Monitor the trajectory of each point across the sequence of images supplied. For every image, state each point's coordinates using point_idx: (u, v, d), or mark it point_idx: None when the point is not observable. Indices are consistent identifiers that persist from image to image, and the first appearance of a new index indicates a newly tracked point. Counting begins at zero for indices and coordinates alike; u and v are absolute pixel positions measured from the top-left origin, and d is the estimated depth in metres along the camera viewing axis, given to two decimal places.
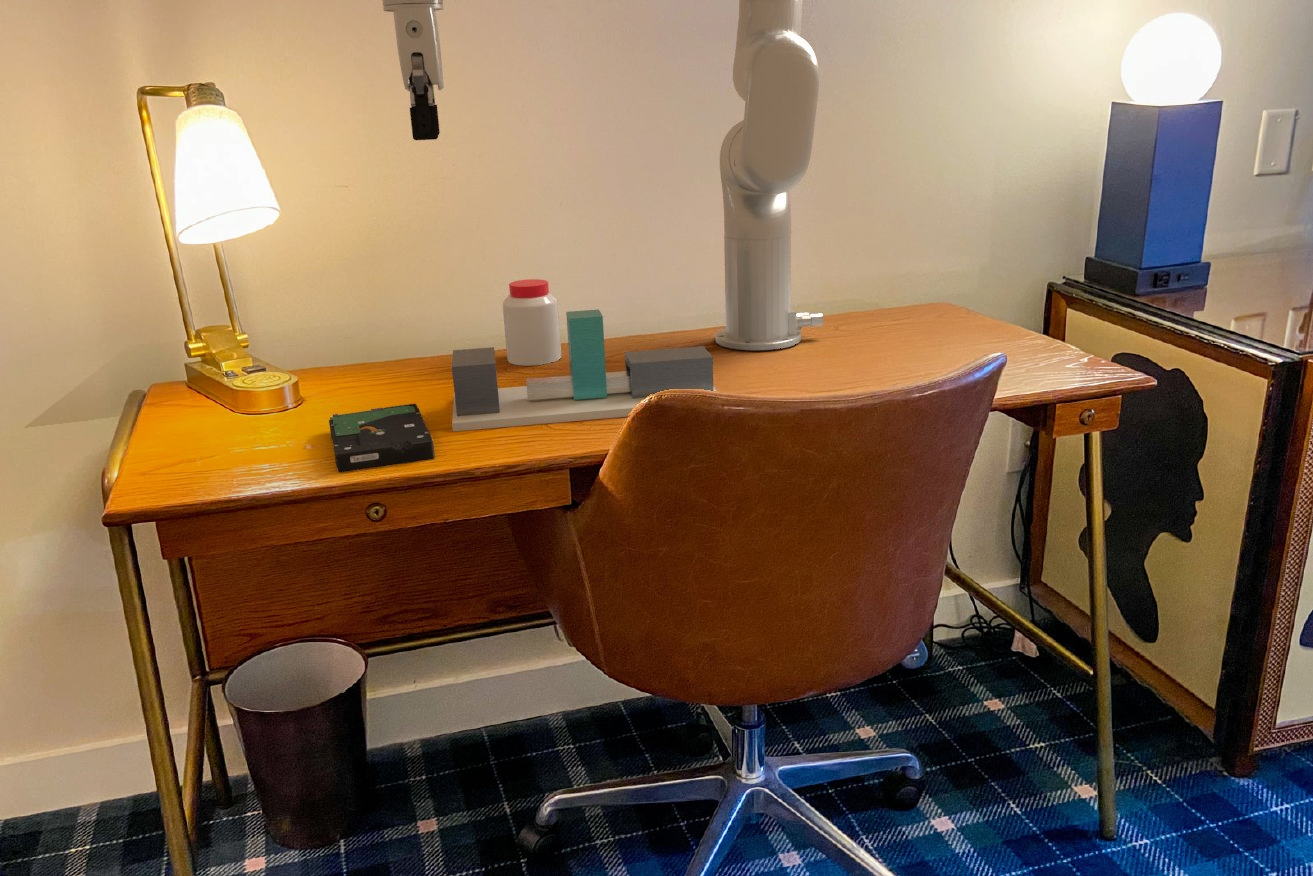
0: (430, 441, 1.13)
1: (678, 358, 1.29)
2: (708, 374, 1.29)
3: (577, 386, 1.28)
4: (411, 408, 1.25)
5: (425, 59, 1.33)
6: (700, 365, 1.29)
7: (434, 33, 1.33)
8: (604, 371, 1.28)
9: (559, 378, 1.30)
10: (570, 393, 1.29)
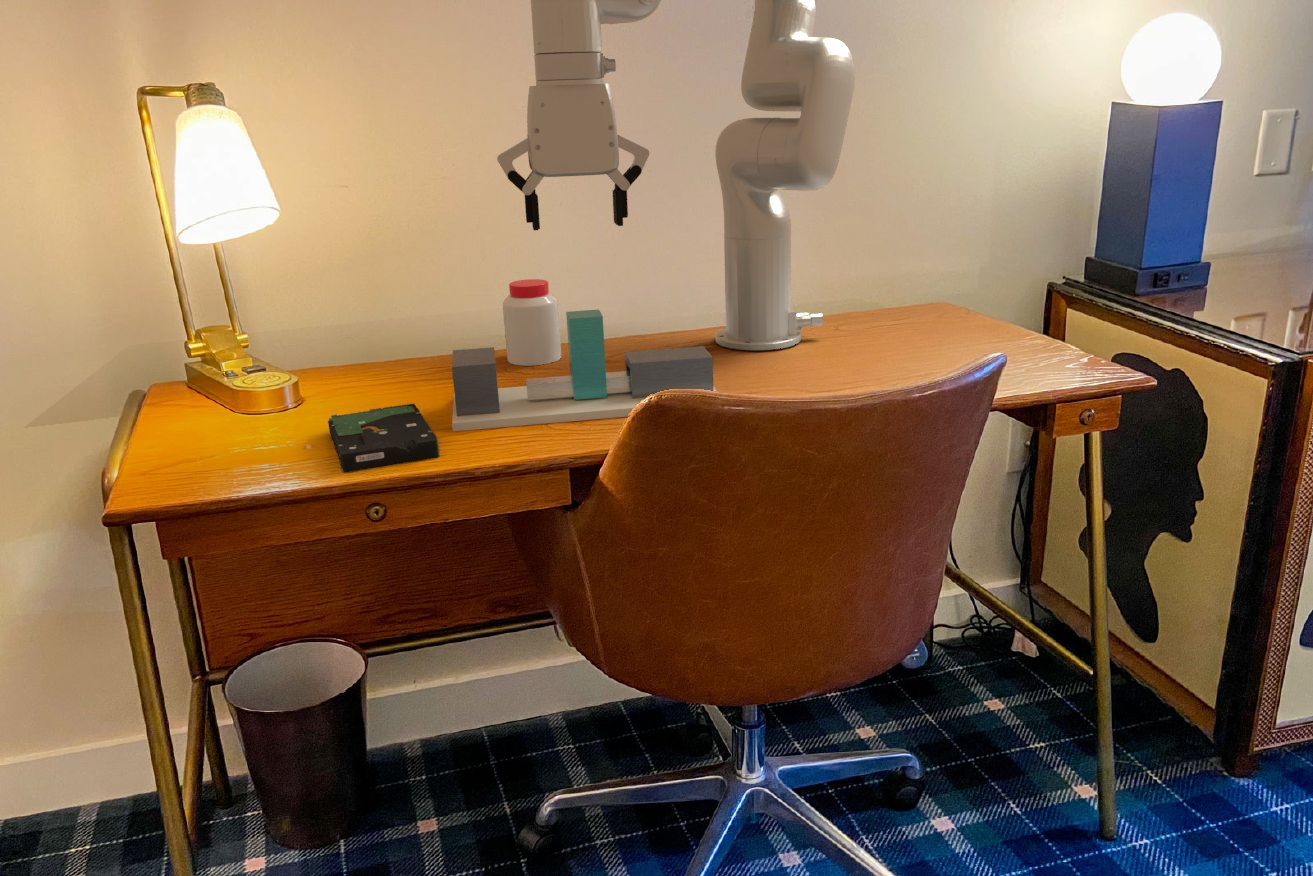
0: (435, 440, 1.14)
1: (678, 358, 1.29)
2: (708, 374, 1.29)
3: (577, 386, 1.28)
4: (410, 408, 1.25)
5: None
6: (700, 365, 1.29)
7: None
8: (604, 371, 1.28)
9: (559, 378, 1.30)
10: (570, 393, 1.29)
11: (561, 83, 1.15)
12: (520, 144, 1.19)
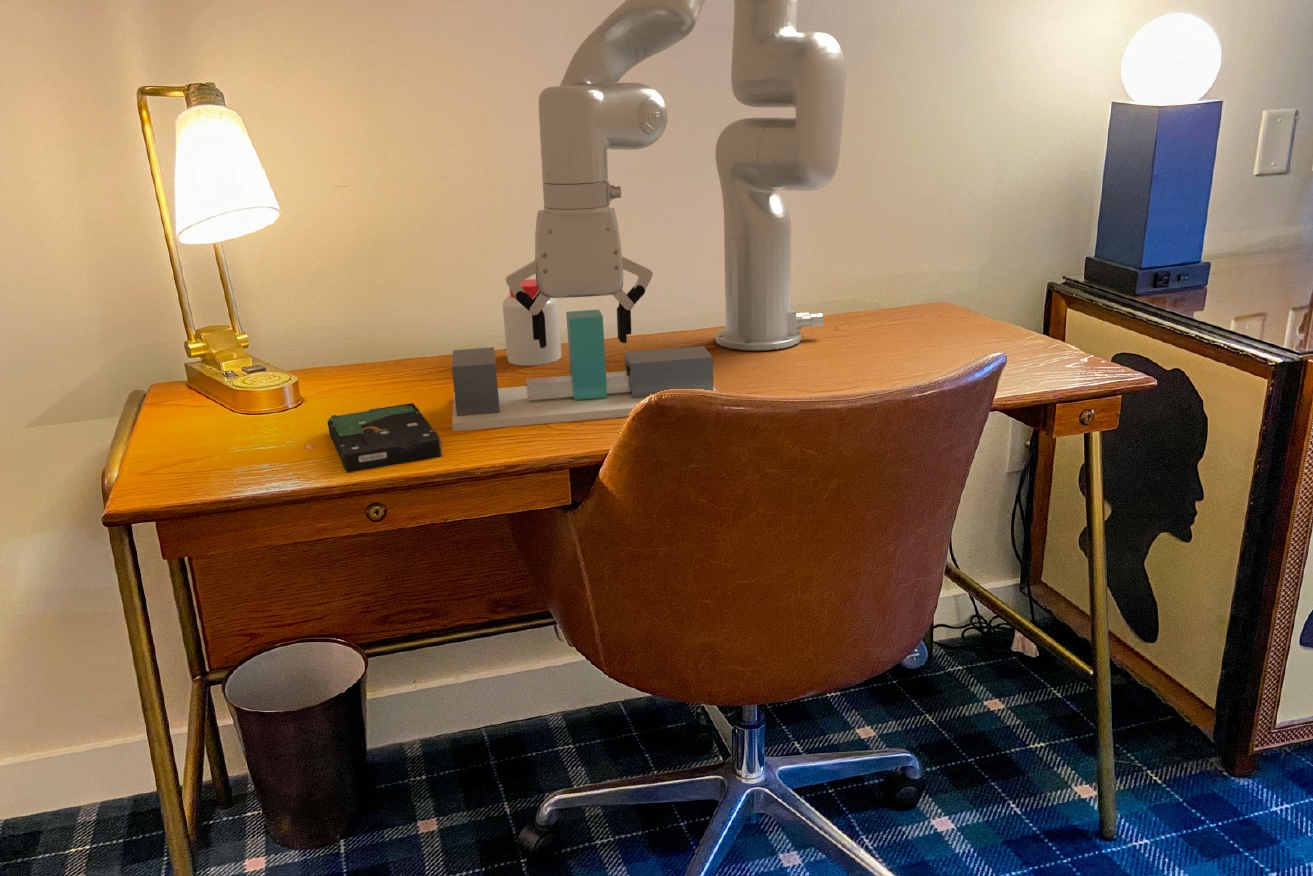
0: (437, 439, 1.14)
1: (678, 358, 1.29)
2: (708, 374, 1.29)
3: (577, 386, 1.28)
4: (410, 407, 1.25)
5: None
6: (700, 365, 1.29)
7: None
8: (604, 371, 1.28)
9: (559, 378, 1.30)
10: (570, 393, 1.29)
11: (568, 212, 1.20)
12: (528, 267, 1.24)
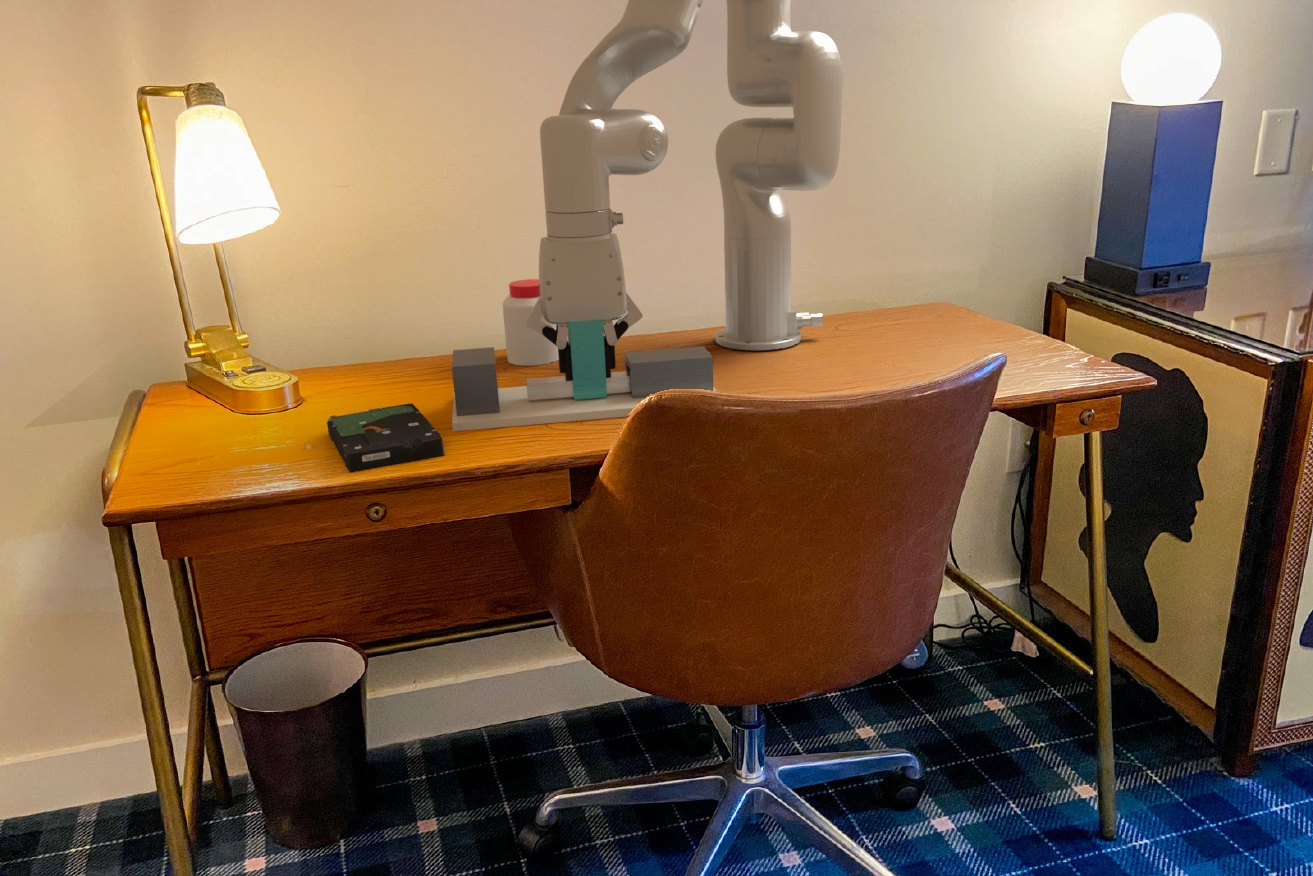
0: (440, 438, 1.14)
1: (678, 358, 1.29)
2: (708, 374, 1.29)
3: (577, 386, 1.28)
4: (409, 408, 1.25)
5: None
6: (700, 365, 1.29)
7: None
8: (604, 371, 1.28)
9: (559, 378, 1.30)
10: (570, 393, 1.29)
11: (571, 241, 1.21)
12: (539, 303, 1.26)
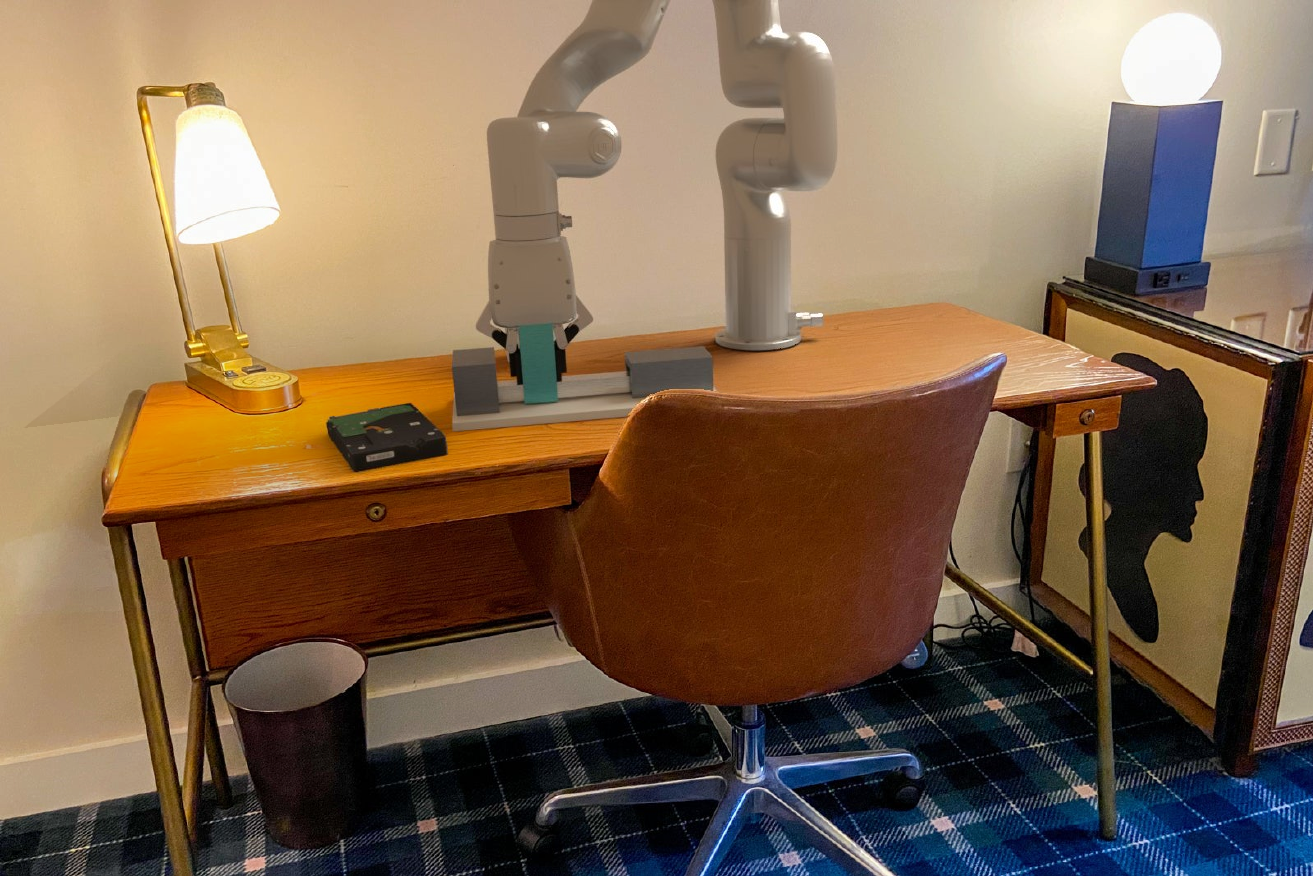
0: (443, 437, 1.15)
1: (678, 358, 1.29)
2: (708, 374, 1.29)
3: (527, 390, 1.27)
4: (408, 407, 1.25)
5: None
6: (700, 365, 1.29)
7: None
8: (554, 375, 1.27)
9: (510, 382, 1.29)
10: (521, 397, 1.28)
11: (519, 244, 1.20)
12: (488, 306, 1.25)
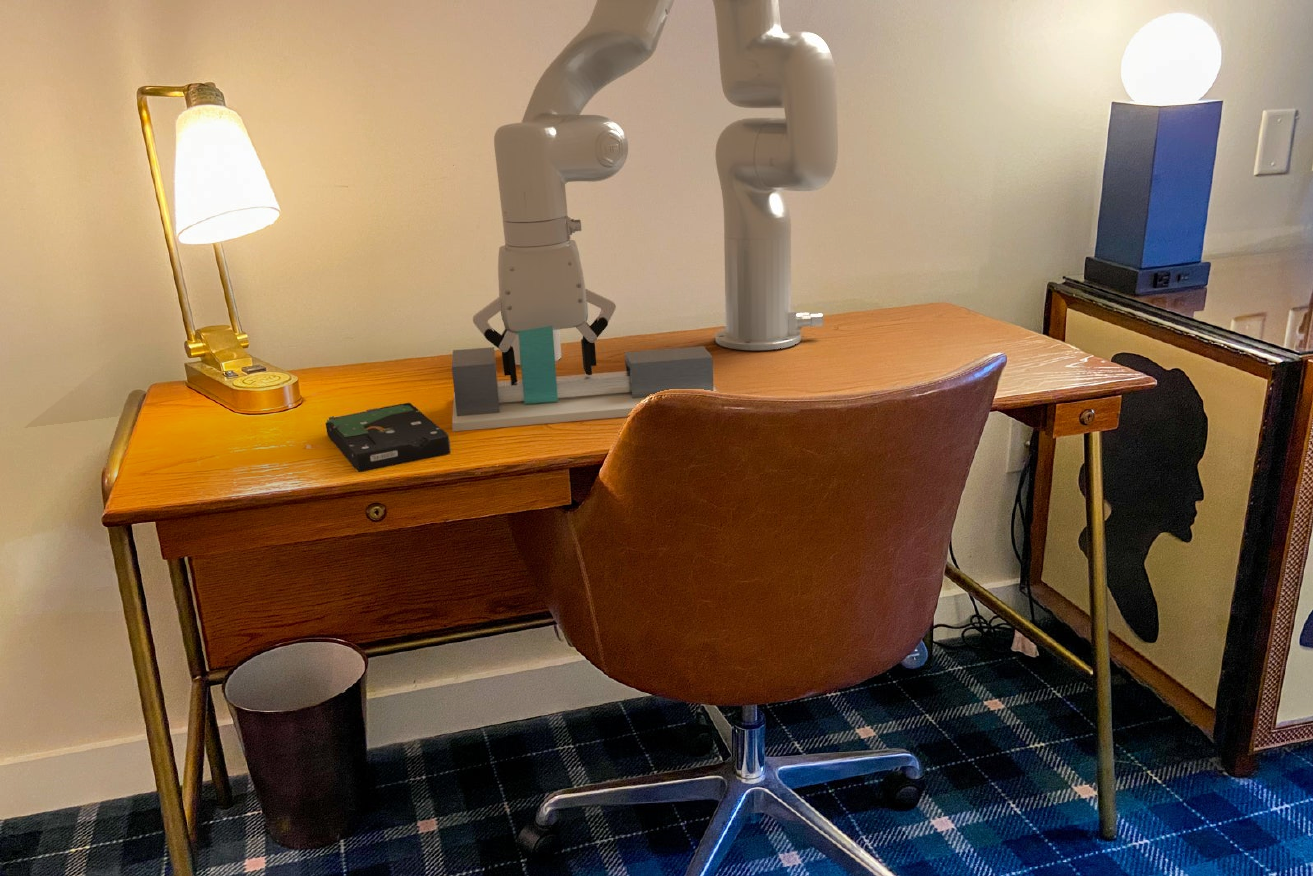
0: (446, 436, 1.15)
1: (678, 358, 1.29)
2: (708, 374, 1.29)
3: (527, 390, 1.27)
4: (407, 407, 1.25)
5: None
6: (700, 365, 1.29)
7: None
8: (554, 375, 1.27)
9: (509, 382, 1.29)
10: (521, 397, 1.28)
11: (529, 250, 1.20)
12: (493, 305, 1.25)
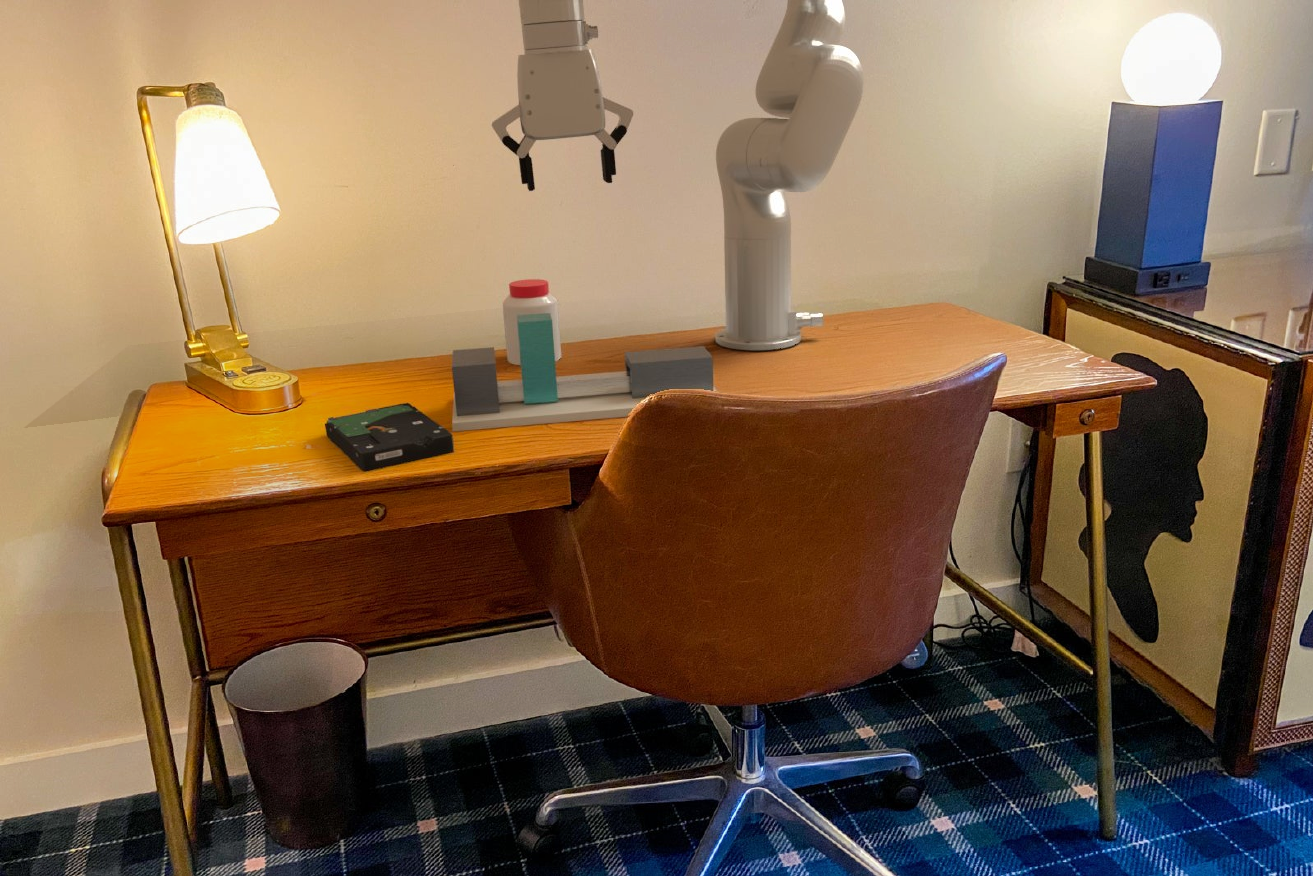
0: (450, 435, 1.15)
1: (678, 358, 1.29)
2: (708, 374, 1.29)
3: (527, 390, 1.27)
4: (406, 407, 1.26)
5: None
6: (700, 365, 1.29)
7: None
8: (554, 375, 1.27)
9: (509, 382, 1.29)
10: (521, 397, 1.28)
11: (548, 51, 1.24)
12: (512, 110, 1.28)
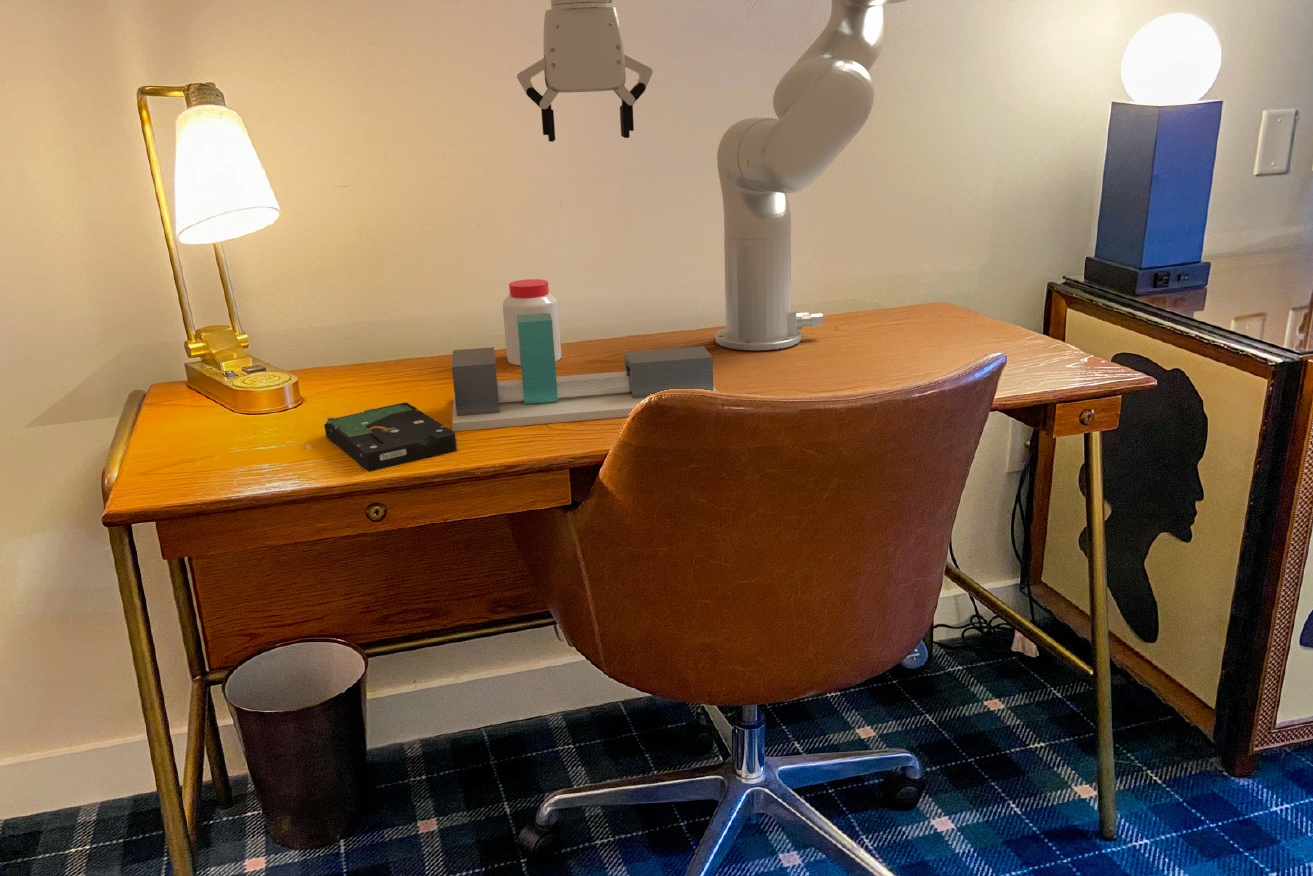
0: (453, 434, 1.16)
1: (678, 358, 1.29)
2: (708, 374, 1.29)
3: (527, 390, 1.27)
4: (405, 407, 1.26)
5: None
6: (700, 365, 1.29)
7: None
8: (554, 375, 1.27)
9: (509, 382, 1.29)
10: (521, 397, 1.28)
11: (574, 6, 1.30)
12: (537, 63, 1.34)
